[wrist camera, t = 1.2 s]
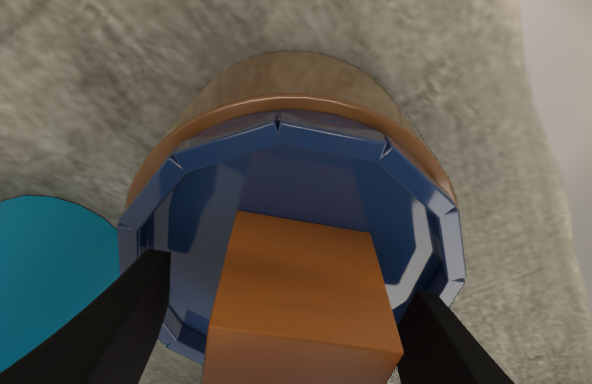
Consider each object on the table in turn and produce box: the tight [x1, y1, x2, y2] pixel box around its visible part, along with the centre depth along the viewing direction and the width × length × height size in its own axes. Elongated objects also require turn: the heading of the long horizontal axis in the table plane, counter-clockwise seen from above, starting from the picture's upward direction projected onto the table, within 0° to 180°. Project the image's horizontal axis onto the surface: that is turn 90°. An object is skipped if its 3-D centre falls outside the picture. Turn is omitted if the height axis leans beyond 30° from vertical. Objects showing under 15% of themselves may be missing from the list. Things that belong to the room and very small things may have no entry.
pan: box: [117, 51, 466, 365], centre depth 14 cm, size 11×11×7 cm
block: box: [201, 211, 404, 384], centre depth 10 cm, size 4×4×4 cm
